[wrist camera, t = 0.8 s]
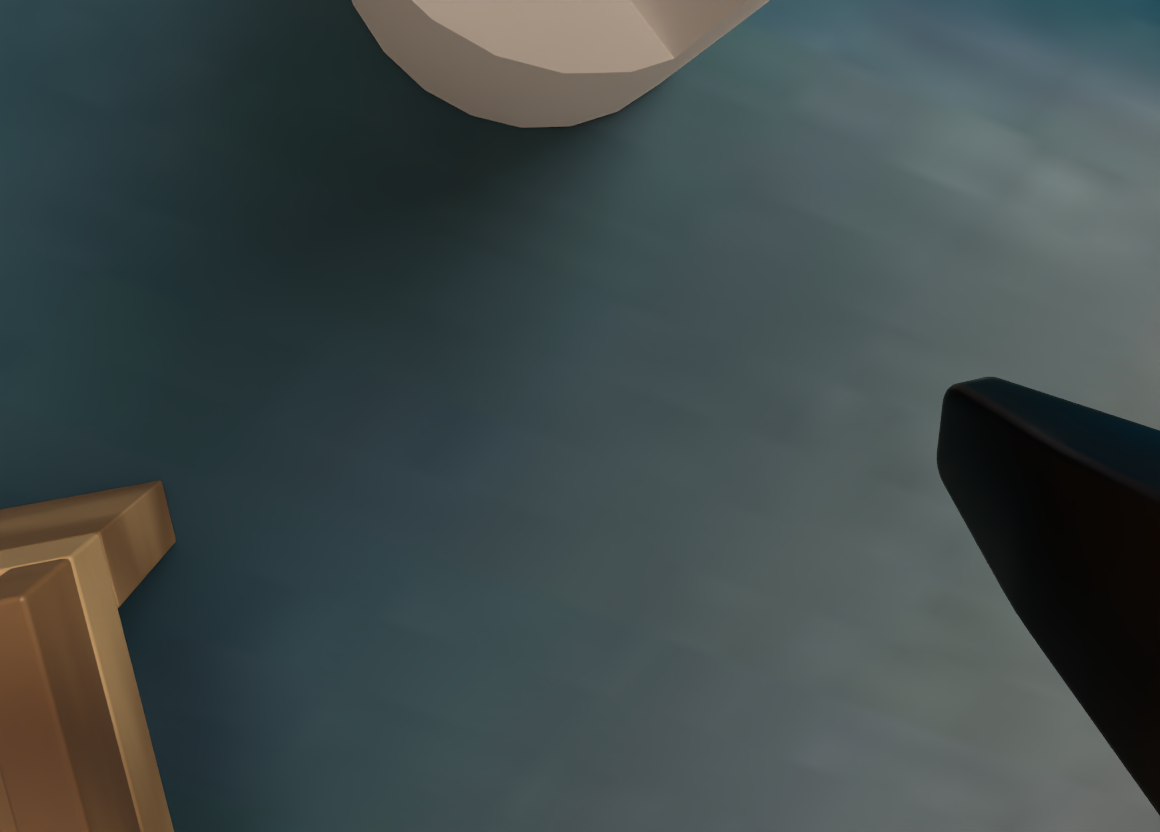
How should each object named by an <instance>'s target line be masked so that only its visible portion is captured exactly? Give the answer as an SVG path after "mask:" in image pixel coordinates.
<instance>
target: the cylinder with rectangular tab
mask: <svg viewBox="0 0 1160 832" xmlns="http://www.w3.org/2000/svg"><path fill="white" fill-rule="evenodd" d="M769 1H770V0H352V3H353V5H354V7H355V8H356V10H357V11H358V13H359V14H360V16H361V18H362V19H363V21H364V22H365V24H366V25H367V27H368V28H369V30H370V31H371V33H372V34H373V36H374V38H375V39H376V41H377V42H378V44H379V45H380V47H381V48H382V50H383V51H384V53H386V54H387V55H388V56H389V57H390V58H391V59H392V60H393V61H394V62H395V63H396V64H397V65H398V66H399V67H401V68H402V69H403V70H404V71H405V72H406V73H407V74H408V75H409V76H410V77H411V78H412V79H413V80H414V81H415V82H417V83H418V84H419V85H420V86H421V87H422V88H423V89H424V90H426V91H427V92H429V93H431V94H433V95H435V96H437V97H438V98H440V99H442V100H444V101H446V102H448V103H449V104H451V105H453V106H455V107H457V108H458V109H460V110H462V111H464V112H466V113H468V114H469V115H471V116H475V117H479V118H484V119H488V120H492V121H496V122H500V123H504V124H508V125H512V126H516V127H520V128H530V127H566V126H574V125H577V124H580V123H583V122H586V121H589V120H593V119H596V118H599V117H602V116H605V115H609V114H612V113H615V112H618V111H619V110H621V109H622V108H624V107H625V106H627V105H628V104H630V103H631V102H633V101H634V100H636V99H638V98H639V97H641V96H642V95H644V94H645V93H647V92H648V91H650V90H651V89H653V88H654V87H656V86H657V85H659V84H660V83H661V82H663V81H664V80H665V79H667V78H668V77H669V76H671V75H672V74H673V73H675V72H676V71H677V70H679V69H680V68H681V67H683V66H684V65H685V64H687V63H688V62H689V61H690V60H692V59H693V58H694V57H696V56H697V55H698V54H700V53H701V52H702V51H704V50H705V49H706V48H708V47H709V46H710V45H712V44H713V43H714V42H716V41H717V40H718V39H720V38H721V37H722V36H724V35H725V34H726V33H728V32H729V31H730V30H732V29H733V28H734V27H735V26H737V25H738V24H739V23H741V22H742V21H743V20H745V19H746V18H747V17H749V16H750V15H751V14H753V13H754V12H755V11H757V10H758V9H759V8H761V7H762V6H763V5H765V4H766V3H767V2H769Z"/></svg>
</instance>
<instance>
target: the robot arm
mask: <svg viewBox="0 0 1160 832" xmlns="http://www.w3.org/2000/svg"><path fill="white" fill-rule="evenodd" d="M937 466H938V470H939V474H940V476H941V479H942V481H943V483H944V485H945V487H946V489H947V491H948V492H949V494H950V496H951V498H952V500H953V501H954V503H955V505H956V507H957V509H958V510H959V512H960V514H961V516H962V518H963V519H964V521H965V523H966V525H967V527H968V528H969V530H970V532H971V534H972V536H973V537H974V539H975V541H976V543H977V545H978V546H979V548H980V550H981V552H982V554H983V555H984V557H985V559H986V561H987V563H988V564H989V566H990V568H991V570H992V572H993V574H994V575H995V577H996V579H997V581H998V583H999V584H1000V586H1001V588H1002V590H1003V591H1004V593H1005V595H1006V596H1007V598H1008V600H1009V601H1010V603H1011V605H1012V606H1013V608H1014V610H1015V611H1016V613H1017V614H1018V616H1019V617H1020V619H1021V620H1022V622H1023V623H1024V625H1025V626H1026V628H1027V629H1028V631H1029V632H1030V634H1031V635H1032V636H1033V638H1034V639H1035V641H1036V642H1037V644H1038V645H1039V646H1040V648H1041V649H1042V651H1043V652H1044V653H1045V655H1046V656H1047V658H1048V659H1049V660H1050V662H1051V663H1052V665H1053V666H1054V667H1055V669H1056V670H1057V672H1058V673H1059V674H1060V676H1061V677H1062V679H1063V680H1064V682H1065V683H1066V684H1067V686H1068V687H1069V689H1070V690H1071V691H1072V693H1073V694H1074V696H1075V697H1076V698H1077V700H1078V701H1079V703H1080V704H1081V705H1082V707H1083V708H1084V710H1085V711H1086V712H1087V714H1088V715H1089V717H1090V718H1091V720H1092V721H1093V722H1094V724H1095V725H1096V727H1097V728H1098V729H1099V731H1100V732H1101V734H1102V735H1103V736H1104V738H1105V739H1106V741H1107V742H1108V743H1109V745H1110V746H1111V748H1112V749H1113V750H1114V752H1115V753H1116V755H1117V756H1118V757H1119V759H1120V760H1121V762H1122V763H1123V765H1124V766H1125V767H1126V769H1127V770H1128V772H1129V773H1130V774H1131V776H1132V777H1133V779H1134V780H1135V781H1136V783H1137V784H1138V786H1139V787H1140V788H1141V790H1142V791H1143V793H1144V794H1145V795H1146V797H1147V798H1148V800H1149V801H1150V803H1151V804H1152V805H1153V807H1154V808H1155V810H1156V811H1157V812H1158V814H1159V815H1160V431H1159V430H1156V429H1153V428H1150V427H1147V426H1144V425H1141V424H1138V423H1135V422H1132V421H1129V420H1125V419H1122V418H1119V417H1116V416H1113V415H1110V414H1107V413H1104V412H1101V411H1098V410H1095V409H1092V408H1089V407H1086V406H1082V405H1079V404H1076V403H1073V402H1070V401H1067V400H1064V399H1061V398H1058V397H1055V396H1052V395H1049V394H1046V393H1043V392H1040V391H1036V390H1033V389H1030V388H1027V387H1024V386H1021V385H1018V384H1015V383H1012V382H1009V381H1006V380H1003V379H1000V378H996V377H984V378H979V379H975V380H971V381H966V382H962V383H957V384H954V385H952V386H951V387H950V388H949V389H948V390H947V391H946V393H945V395H944V399H943V405H942V413H941V422H940V431H939V439H938V448H937Z"/></svg>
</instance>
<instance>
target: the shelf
mask: <svg viewBox="0 0 1160 832" xmlns="http://www.w3.org/2000/svg"><path fill="white" fill-rule="evenodd" d="M175 542H176V539H175V534H174V530H173V526H172V522H171V518H170V513H169V509H168V505H167V501H166V497H165V493H164V488H163V484H162V481H154V482H148V483H143V484H137V485H132V486H126V487H121V488H115V489H110V490H104V491H99V492H93V493H88V494H82V495H77V496H72V497H66V498H61V499H55V500H50V501H44V502H39V503H33V504H28V505H22V506H17V507H11V508H6V509H0V832H174V829H173V825H172V821H171V817H170V813H169V810H168V806H167V802H166V798H165V794H164V790H163V786H162V782H161V778H160V774H159V770H158V766H157V762H156V758H155V754H154V750H153V746H152V743H151V739H150V735H149V731H148V727H147V723H146V719H145V715H144V711H143V707H142V703H141V699H140V695H139V691H138V687H137V683H136V679H135V676H134V672H133V668H132V664H131V660H130V656H129V652H128V648H127V644H126V640H125V636H124V632H123V628H122V624H121V620H120V616H119V612H118V609H117V608H119V607H120V606H121V605H122V604H123V602H124V601H125V600H126V599H127V598H128V597H129V595H130V594H131V593H132V592H133V591H134V590H135V588H136V587H137V586H138V585H139V584H140V583H141V582H142V580H143V579H144V578H145V577H146V576H147V575H148V573H149V572H150V571H151V570H152V569H153V568H154V566H155V565H156V564H157V563H158V562H159V561H160V560H161V558H162V557H163V556H164V555H165V554H166V553H167V551H168V550H169V549H170V548H171V547H172V546H173V544H174V543H175Z"/></svg>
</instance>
